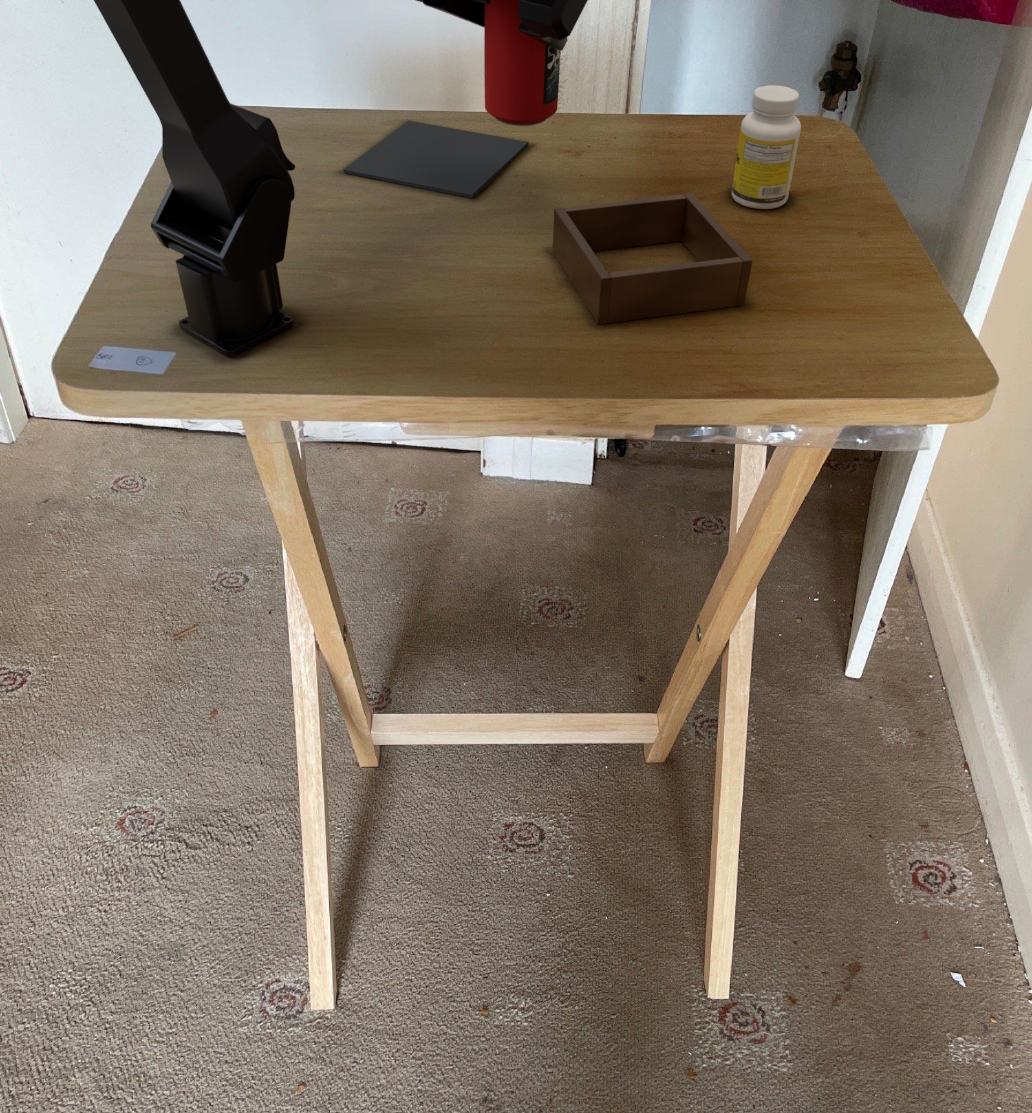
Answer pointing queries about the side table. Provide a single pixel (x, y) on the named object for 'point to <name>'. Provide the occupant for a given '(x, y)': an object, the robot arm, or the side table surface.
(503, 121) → the beverage can
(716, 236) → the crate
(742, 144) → the supplement bottle
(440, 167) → the mat
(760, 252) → the side table surface
